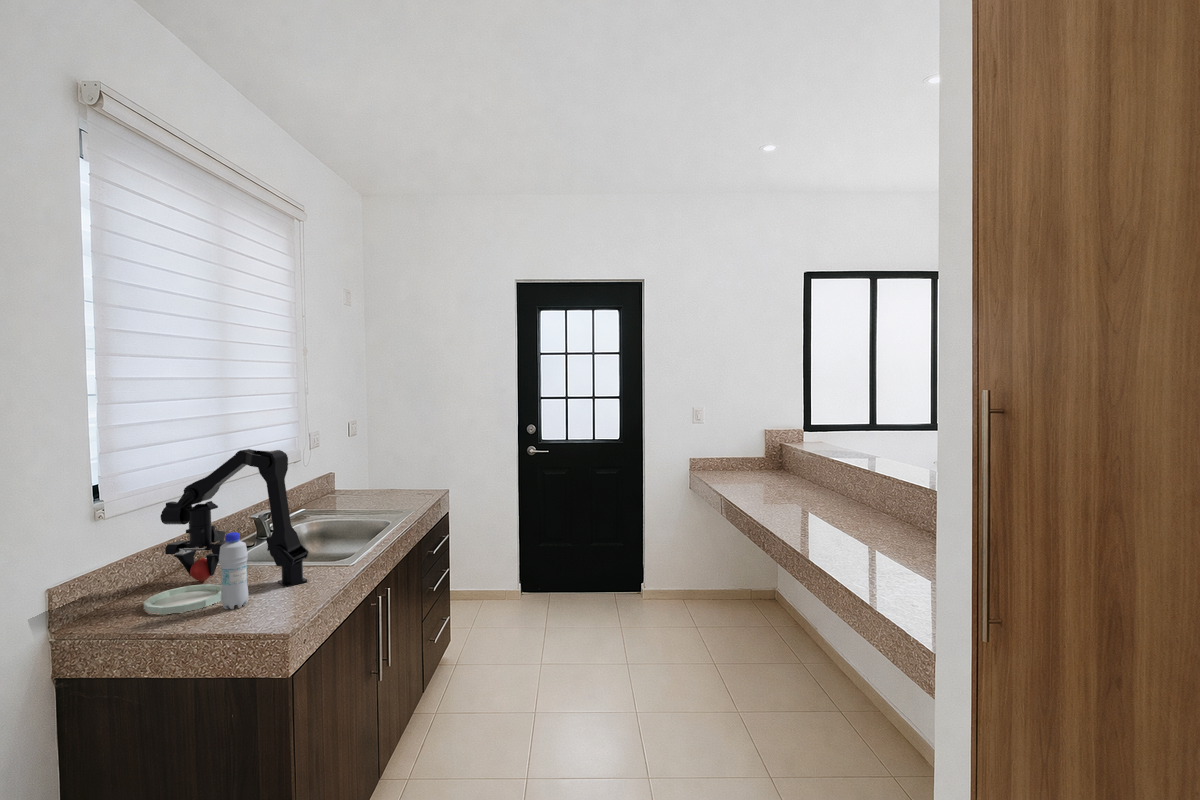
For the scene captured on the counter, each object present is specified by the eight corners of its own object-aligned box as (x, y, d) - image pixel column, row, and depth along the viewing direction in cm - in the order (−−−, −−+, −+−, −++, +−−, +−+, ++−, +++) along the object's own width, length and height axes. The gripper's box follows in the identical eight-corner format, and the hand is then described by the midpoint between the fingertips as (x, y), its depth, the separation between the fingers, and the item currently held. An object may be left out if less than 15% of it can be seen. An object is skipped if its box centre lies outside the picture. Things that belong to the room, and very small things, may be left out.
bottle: (228, 612, 159) (226, 536, 159) (215, 608, 163) (212, 533, 162) (254, 604, 165) (252, 531, 164) (241, 600, 168) (238, 528, 168)
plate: (233, 601, 168) (233, 593, 168) (153, 620, 155) (153, 612, 155) (214, 586, 180) (213, 580, 180) (138, 603, 167) (138, 596, 167)
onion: (197, 579, 188) (196, 553, 187) (217, 578, 188) (216, 552, 188) (186, 585, 182) (185, 559, 182) (206, 584, 182) (205, 558, 182)
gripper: (246, 518, 192) (248, 567, 192) (189, 518, 193) (191, 567, 193) (223, 526, 181) (224, 578, 181) (162, 526, 182) (164, 578, 182)
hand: (202, 575), depth 185 cm, fingers closed on onion, 6 cm apart
